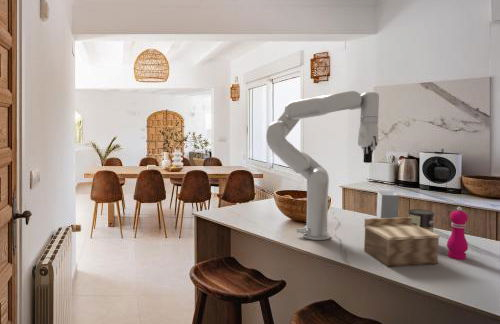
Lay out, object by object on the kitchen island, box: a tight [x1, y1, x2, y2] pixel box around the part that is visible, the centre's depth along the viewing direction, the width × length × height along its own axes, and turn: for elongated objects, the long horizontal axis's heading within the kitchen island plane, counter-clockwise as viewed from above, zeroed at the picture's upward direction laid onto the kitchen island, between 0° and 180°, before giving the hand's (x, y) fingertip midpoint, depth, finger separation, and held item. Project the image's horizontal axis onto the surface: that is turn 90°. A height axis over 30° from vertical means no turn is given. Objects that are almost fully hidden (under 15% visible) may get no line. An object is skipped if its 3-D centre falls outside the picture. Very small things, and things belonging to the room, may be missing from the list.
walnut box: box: [363, 227, 440, 268], centre depth 147 cm, size 20×18×10 cm
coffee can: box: [408, 208, 435, 233], centre depth 166 cm, size 10×10×14 cm
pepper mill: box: [446, 206, 469, 260], centre depth 147 cm, size 7×7×20 cm
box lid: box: [363, 216, 441, 240], centre depth 146 cm, size 20×18×4 cm
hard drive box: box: [376, 189, 400, 218], centre depth 180 cm, size 16×8×20 cm, turn 168°
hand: (367, 162), depth 167 cm, fingers closed
